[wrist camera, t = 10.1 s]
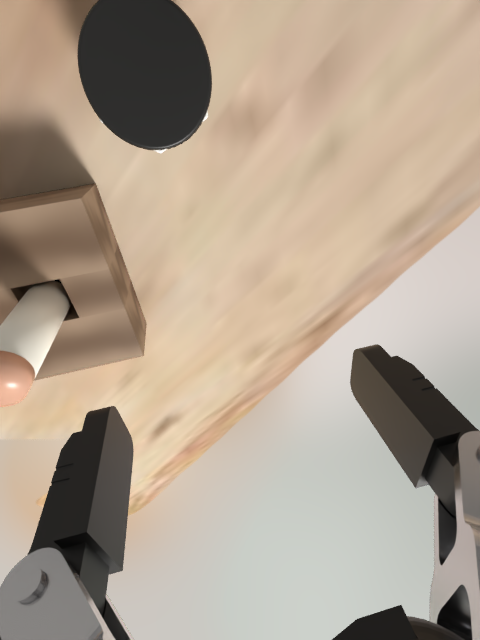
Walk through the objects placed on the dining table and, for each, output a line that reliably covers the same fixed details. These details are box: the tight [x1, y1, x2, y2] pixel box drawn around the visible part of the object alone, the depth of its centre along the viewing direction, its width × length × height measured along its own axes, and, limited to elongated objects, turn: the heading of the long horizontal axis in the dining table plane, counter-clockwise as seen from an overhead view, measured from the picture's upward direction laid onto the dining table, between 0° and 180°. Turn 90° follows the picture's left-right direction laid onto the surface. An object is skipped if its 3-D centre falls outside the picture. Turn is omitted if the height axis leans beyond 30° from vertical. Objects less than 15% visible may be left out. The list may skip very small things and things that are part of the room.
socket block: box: [0, 184, 146, 380], centre depth 34 cm, size 18×14×7 cm
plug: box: [0, 280, 72, 407], centre depth 27 cm, size 4×4×13 cm
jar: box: [78, 0, 212, 153], centre depth 25 cm, size 9×8×12 cm
